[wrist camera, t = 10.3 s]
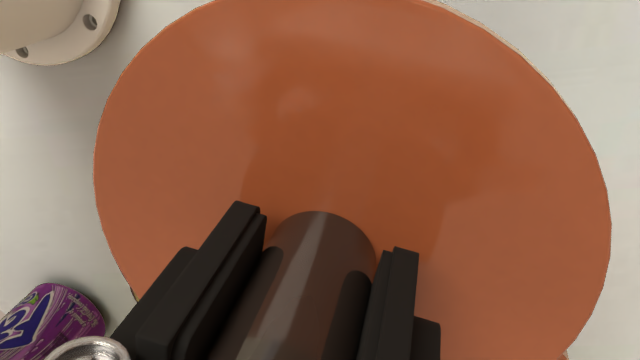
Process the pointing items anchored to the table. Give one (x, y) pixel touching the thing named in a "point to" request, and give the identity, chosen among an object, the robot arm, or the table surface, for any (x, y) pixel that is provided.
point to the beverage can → (47, 322)
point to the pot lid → (358, 174)
